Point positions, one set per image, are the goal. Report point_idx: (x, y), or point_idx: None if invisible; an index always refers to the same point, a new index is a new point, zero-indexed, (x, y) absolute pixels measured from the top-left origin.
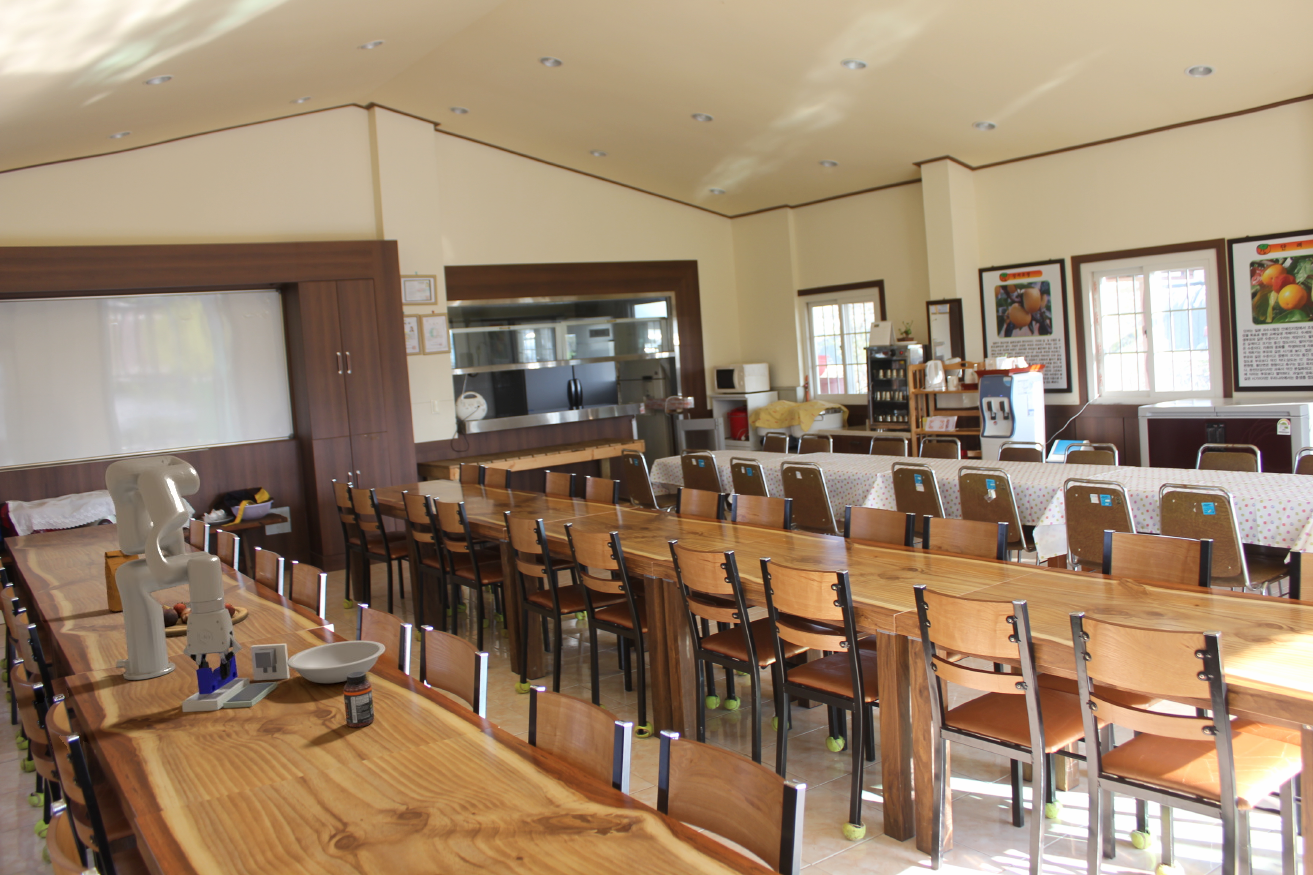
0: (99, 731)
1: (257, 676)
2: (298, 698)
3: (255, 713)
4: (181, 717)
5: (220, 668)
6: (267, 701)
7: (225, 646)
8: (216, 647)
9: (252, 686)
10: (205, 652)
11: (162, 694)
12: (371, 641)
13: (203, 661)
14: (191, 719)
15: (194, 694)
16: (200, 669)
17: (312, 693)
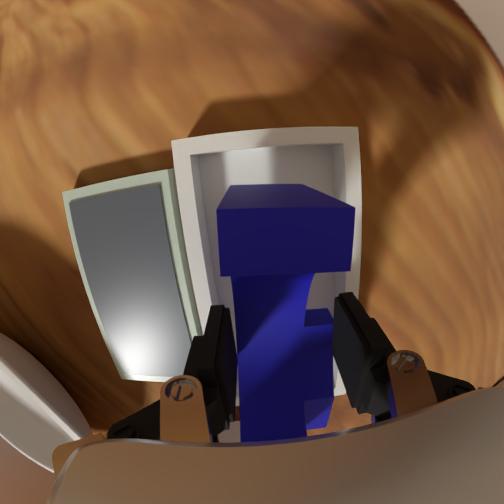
0: (477, 29)
1: (235, 429)
2: (6, 261)
3: (35, 128)
4: (304, 67)
5: (220, 348)
6: (57, 239)
7: (62, 475)
8: (163, 498)
9: (170, 352)
10: (341, 437)
11: (472, 315)
12: (29, 458)
13: (374, 390)
14: (240, 43)
15: (355, 235)
16: (317, 224)
17: (5, 295)
